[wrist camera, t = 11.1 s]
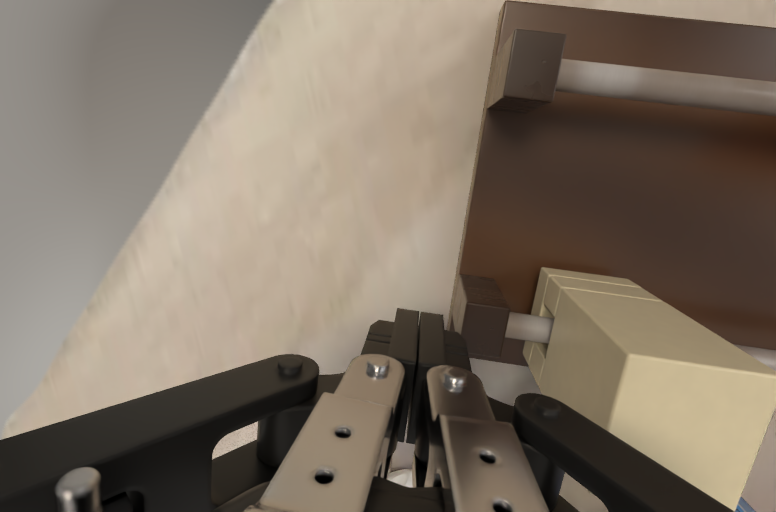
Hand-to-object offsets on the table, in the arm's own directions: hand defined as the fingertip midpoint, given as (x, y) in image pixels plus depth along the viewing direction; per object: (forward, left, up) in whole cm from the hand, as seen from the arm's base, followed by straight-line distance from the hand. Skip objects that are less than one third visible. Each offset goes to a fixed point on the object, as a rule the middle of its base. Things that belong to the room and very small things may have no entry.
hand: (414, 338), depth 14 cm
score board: (-4, +12, -7) cm, 14 cm away
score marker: (0, +7, -5) cm, 8 cm away
